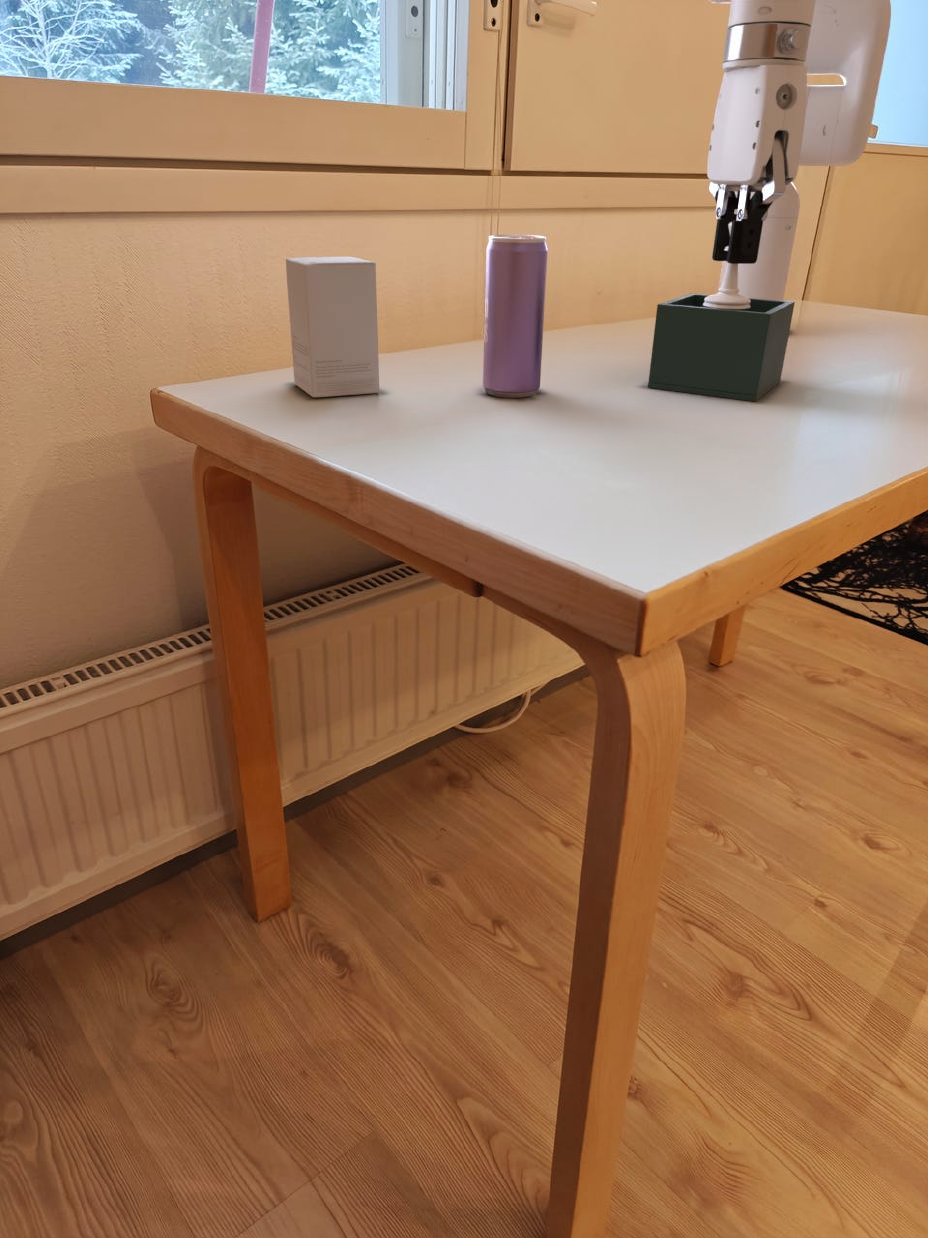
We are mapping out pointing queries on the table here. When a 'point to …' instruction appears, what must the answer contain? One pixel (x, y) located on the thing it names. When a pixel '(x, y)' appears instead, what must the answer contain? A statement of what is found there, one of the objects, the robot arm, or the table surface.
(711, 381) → the bin
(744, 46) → the robot arm
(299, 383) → the white packaging box
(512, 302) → the beverage can
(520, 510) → the table surface
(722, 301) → the chess piece
